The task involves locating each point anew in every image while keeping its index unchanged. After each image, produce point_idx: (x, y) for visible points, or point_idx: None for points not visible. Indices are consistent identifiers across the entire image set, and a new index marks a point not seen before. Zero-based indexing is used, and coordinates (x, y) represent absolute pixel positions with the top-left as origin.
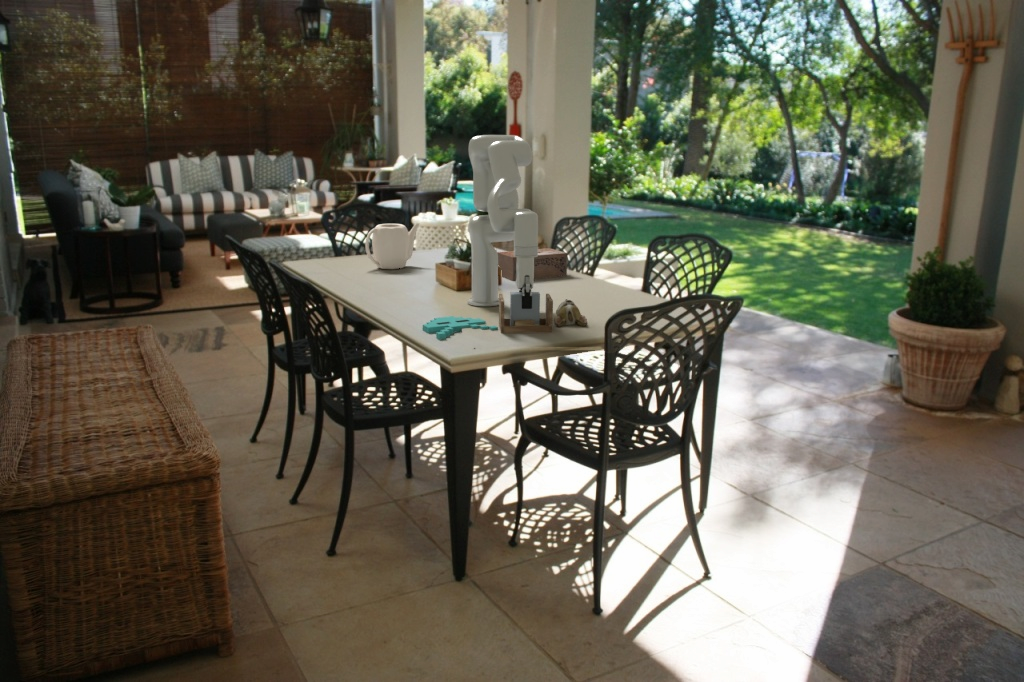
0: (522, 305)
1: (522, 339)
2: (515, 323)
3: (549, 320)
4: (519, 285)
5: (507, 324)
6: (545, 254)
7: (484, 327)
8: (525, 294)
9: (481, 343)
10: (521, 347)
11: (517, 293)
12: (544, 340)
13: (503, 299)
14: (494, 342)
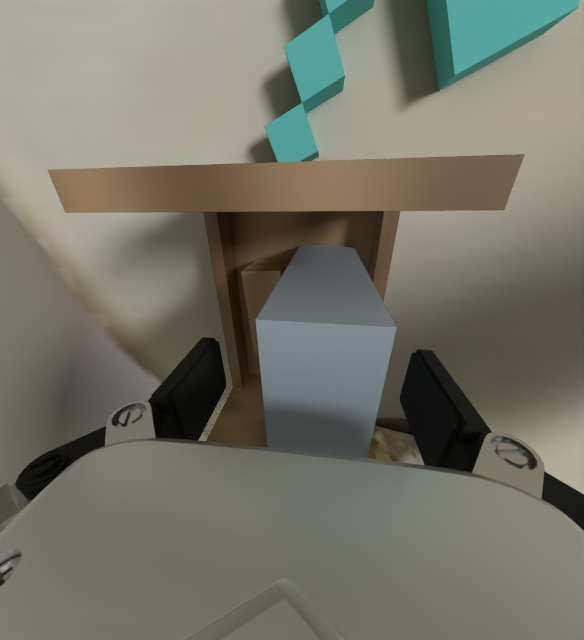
0: (194, 351)
1: (183, 277)
2: (245, 270)
3: (225, 403)
4: (37, 499)
5: (375, 233)
6: None
7: (291, 70)
8: (99, 433)
9: (69, 67)
10: (79, 261)
11: (304, 383)
12: (184, 343)
13: (150, 207)
14: (109, 148)
